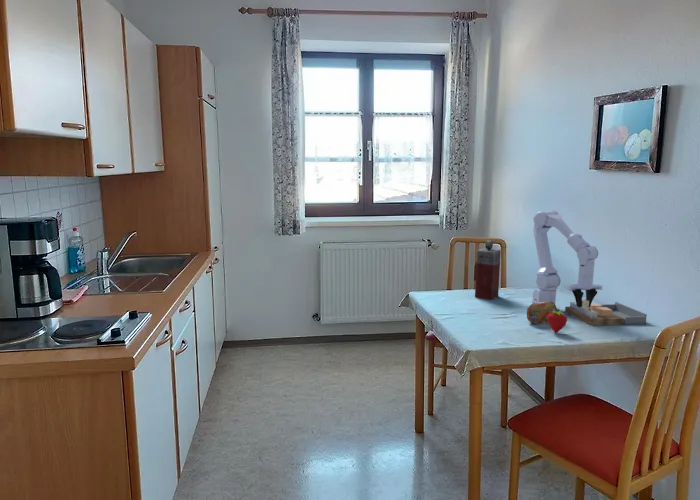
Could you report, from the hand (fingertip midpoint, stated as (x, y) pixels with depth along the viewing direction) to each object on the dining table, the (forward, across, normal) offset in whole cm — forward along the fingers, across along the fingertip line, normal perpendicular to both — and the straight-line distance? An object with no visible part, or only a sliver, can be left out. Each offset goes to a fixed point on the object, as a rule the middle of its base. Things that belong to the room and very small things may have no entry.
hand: (583, 306), depth 225 cm
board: (+5, +5, 0) cm, 7 cm away
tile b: (+3, +7, +4) cm, 9 cm away
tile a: (+3, +7, -4) cm, 9 cm away
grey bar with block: (+3, 0, 0) cm, 3 cm away
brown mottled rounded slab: (+6, -20, -3) cm, 21 cm away
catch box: (+5, +17, 0) cm, 18 cm away
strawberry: (+5, -21, -17) cm, 28 cm away
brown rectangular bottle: (+5, -27, +41) cm, 49 cm away
